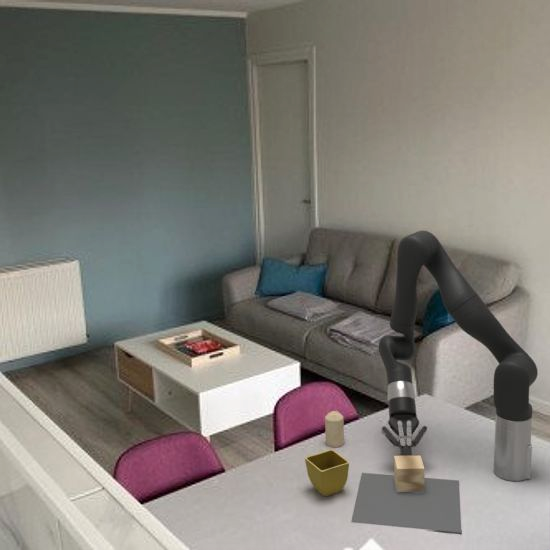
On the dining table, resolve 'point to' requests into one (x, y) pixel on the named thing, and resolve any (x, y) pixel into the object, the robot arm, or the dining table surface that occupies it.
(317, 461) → the flower pot
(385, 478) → the mat
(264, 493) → the dining table surface
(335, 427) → the candle
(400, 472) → the cube
